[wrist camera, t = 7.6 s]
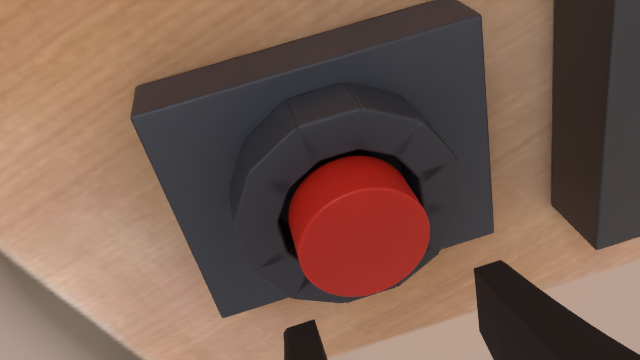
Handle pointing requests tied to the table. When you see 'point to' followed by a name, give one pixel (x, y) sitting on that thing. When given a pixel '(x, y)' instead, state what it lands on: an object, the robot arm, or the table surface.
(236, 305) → the switch block
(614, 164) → the panel
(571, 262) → the table surface
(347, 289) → the power button
